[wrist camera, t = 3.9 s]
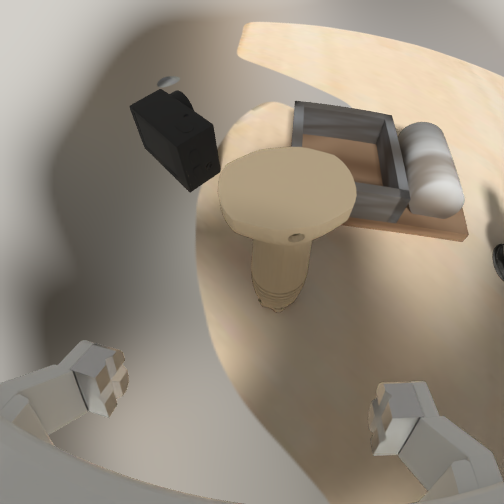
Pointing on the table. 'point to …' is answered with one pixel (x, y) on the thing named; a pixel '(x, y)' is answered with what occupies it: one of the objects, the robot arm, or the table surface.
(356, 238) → the table surface
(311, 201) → the handle
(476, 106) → the table surface
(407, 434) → the robot arm
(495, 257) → the dark grey chess piece
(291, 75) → the table surface
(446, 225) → the base
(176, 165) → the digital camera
